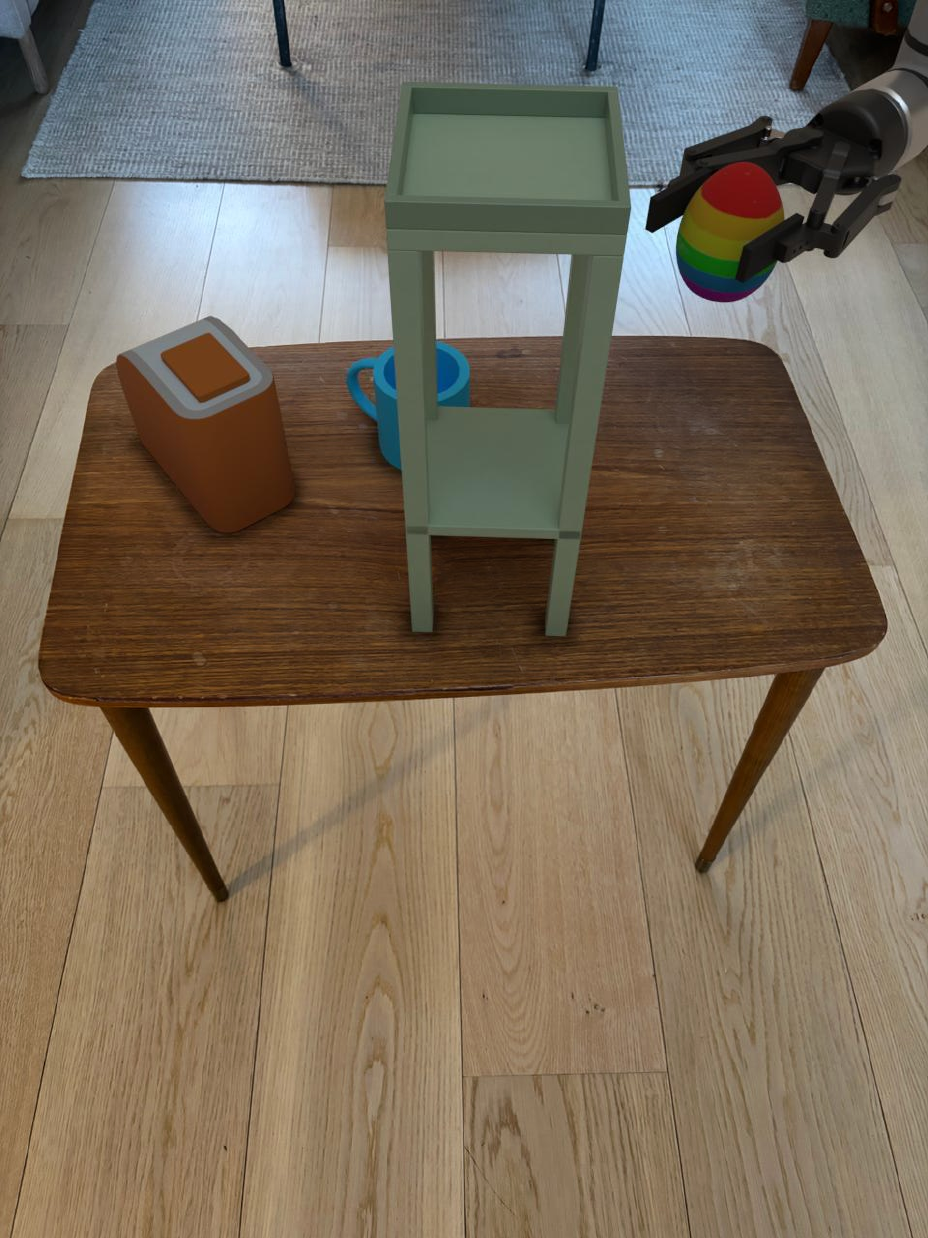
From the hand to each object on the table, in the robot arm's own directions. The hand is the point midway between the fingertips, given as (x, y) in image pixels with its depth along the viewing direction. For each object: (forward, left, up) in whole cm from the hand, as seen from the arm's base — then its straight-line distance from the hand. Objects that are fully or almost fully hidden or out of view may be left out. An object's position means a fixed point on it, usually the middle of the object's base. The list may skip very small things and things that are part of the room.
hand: (696, 239), depth 74 cm
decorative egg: (-3, -3, -6) cm, 8 cm away
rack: (+15, +17, -20) cm, 30 cm away
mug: (+23, +1, -20) cm, 30 cm away
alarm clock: (+39, +6, -20) cm, 44 cm away
